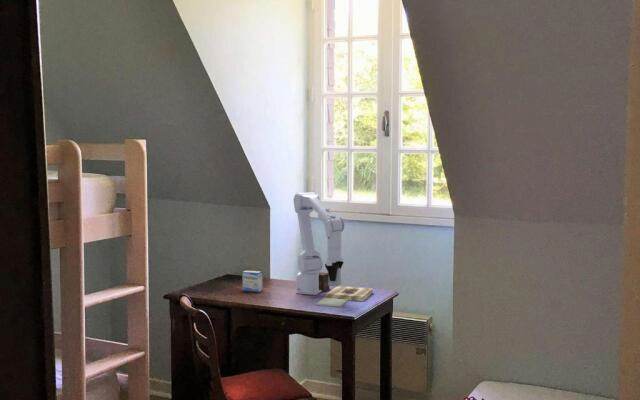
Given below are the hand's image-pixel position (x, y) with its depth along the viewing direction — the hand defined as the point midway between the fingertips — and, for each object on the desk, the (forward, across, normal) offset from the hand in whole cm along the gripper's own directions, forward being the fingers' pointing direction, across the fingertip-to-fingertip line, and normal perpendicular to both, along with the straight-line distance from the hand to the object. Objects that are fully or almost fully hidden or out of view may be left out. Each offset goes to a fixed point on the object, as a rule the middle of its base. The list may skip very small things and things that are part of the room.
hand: (334, 279), depth 293 cm
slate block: (+2, 0, 0) cm, 2 cm away
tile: (+9, -2, 0) cm, 10 cm away
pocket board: (+9, +13, -3) cm, 17 cm away
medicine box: (+10, +10, +41) cm, 43 cm away
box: (+10, +21, +13) cm, 27 cm away
